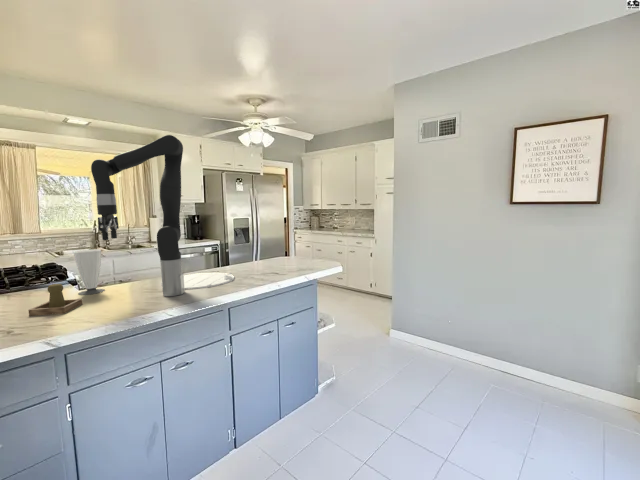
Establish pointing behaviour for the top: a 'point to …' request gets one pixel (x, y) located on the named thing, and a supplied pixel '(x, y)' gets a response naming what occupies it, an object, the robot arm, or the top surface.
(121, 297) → the top surface
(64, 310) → the box
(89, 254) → the cup
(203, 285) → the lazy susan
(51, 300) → the olive brown tapered block
